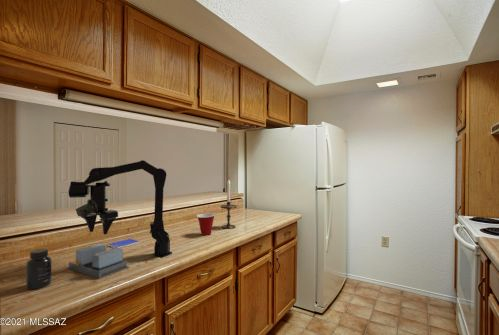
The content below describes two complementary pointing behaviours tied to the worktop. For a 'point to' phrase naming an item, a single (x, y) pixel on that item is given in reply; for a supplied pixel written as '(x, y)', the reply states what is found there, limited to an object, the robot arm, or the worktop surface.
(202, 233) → the plastic cup
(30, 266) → the supplement bottle
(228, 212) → the candlestick
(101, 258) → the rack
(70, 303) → the worktop surface
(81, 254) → the pale grey block
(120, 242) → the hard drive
